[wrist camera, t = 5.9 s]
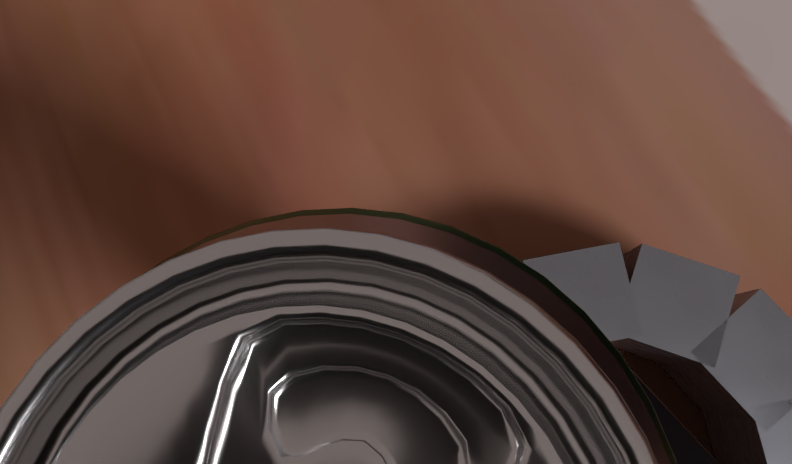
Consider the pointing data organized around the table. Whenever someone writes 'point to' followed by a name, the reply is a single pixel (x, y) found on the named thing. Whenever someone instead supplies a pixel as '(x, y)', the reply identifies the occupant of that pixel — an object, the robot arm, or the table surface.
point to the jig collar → (693, 338)
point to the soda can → (334, 358)
